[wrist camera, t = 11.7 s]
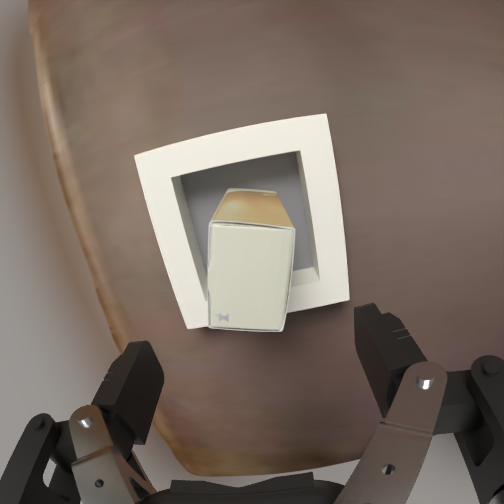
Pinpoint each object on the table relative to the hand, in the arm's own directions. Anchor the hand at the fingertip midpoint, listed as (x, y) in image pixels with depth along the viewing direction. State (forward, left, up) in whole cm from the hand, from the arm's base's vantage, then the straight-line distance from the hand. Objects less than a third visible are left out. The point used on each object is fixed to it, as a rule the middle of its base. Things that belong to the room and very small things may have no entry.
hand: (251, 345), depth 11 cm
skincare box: (0, 0, -17) cm, 17 cm away
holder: (0, 0, -17) cm, 17 cm away
